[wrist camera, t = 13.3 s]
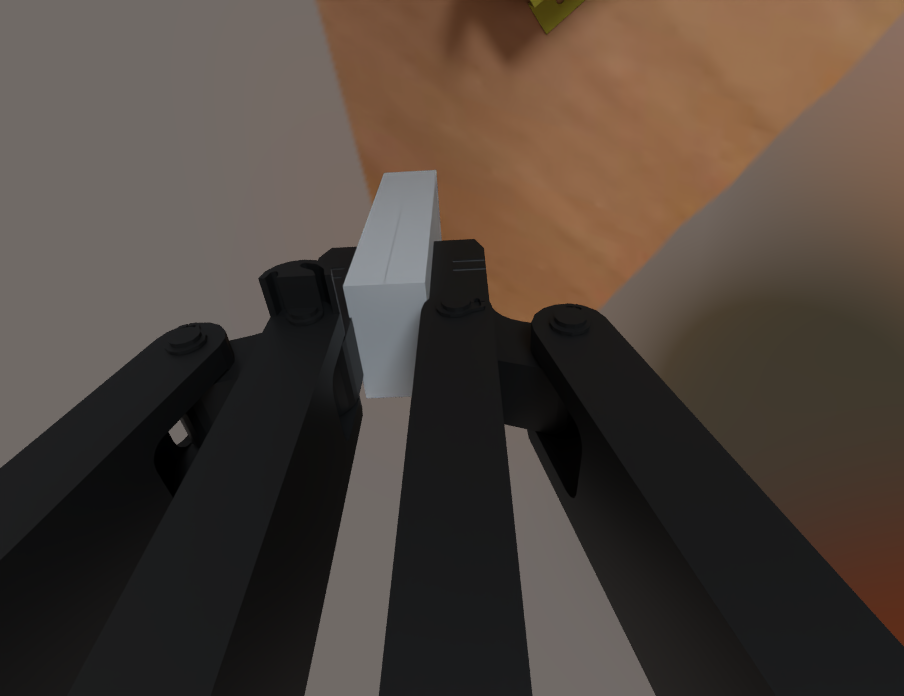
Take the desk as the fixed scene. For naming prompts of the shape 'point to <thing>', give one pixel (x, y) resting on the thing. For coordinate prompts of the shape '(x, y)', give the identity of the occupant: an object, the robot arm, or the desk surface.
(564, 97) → the desk surface
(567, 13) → the bracket
